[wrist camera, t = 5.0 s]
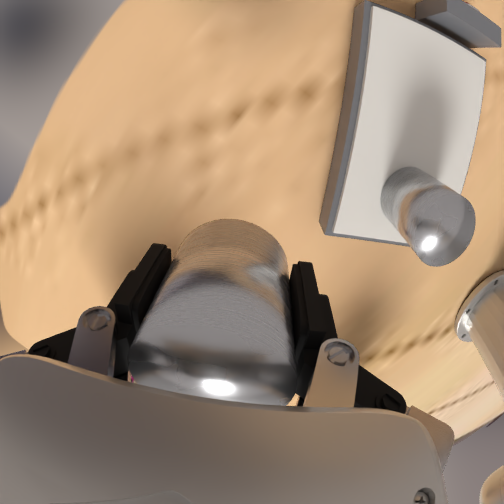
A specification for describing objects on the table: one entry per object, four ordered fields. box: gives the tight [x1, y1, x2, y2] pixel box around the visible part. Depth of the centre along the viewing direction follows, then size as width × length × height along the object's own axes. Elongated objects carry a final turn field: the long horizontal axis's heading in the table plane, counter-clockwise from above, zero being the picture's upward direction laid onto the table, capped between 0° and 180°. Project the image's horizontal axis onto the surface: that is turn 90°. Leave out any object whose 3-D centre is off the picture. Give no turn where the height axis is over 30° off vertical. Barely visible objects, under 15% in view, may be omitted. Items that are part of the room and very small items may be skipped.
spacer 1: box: [127, 219, 297, 406], centre depth 10 cm, size 5×5×6 cm
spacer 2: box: [380, 167, 475, 267], centre depth 17 cm, size 5×5×6 cm
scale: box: [319, 0, 501, 247], centre depth 17 cm, size 12×22×5 cm, turn 174°
